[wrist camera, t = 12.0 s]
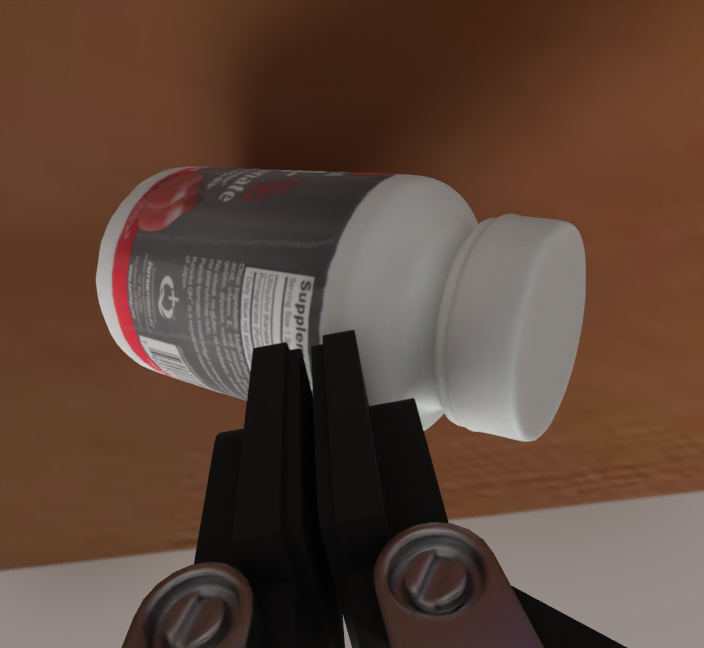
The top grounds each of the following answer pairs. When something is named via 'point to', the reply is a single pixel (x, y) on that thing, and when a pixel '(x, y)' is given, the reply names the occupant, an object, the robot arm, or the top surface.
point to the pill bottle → (348, 288)
